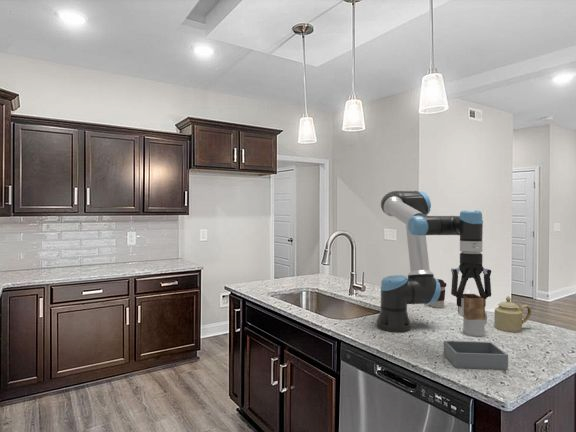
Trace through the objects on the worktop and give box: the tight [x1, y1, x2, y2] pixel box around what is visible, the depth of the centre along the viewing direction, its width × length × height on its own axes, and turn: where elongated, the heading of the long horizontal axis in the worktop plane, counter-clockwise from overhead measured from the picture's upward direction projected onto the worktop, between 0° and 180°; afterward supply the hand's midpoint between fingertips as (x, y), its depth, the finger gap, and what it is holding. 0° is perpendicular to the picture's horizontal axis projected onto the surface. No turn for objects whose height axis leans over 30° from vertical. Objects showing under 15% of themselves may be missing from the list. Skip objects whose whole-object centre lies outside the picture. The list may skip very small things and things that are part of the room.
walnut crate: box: [457, 293, 486, 320], centre depth 140 cm, size 6×9×8 cm, turn 176°
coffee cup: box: [429, 278, 447, 309], centre depth 214 cm, size 10×10×15 cm
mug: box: [462, 311, 488, 337], centre depth 169 cm, size 12×8×11 cm
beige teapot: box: [493, 295, 532, 333], centre depth 176 cm, size 15×11×15 cm
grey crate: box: [443, 340, 509, 370], centre depth 138 cm, size 17×12×5 cm
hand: (471, 315), depth 140 cm, fingers closed on walnut crate, 6 cm apart
